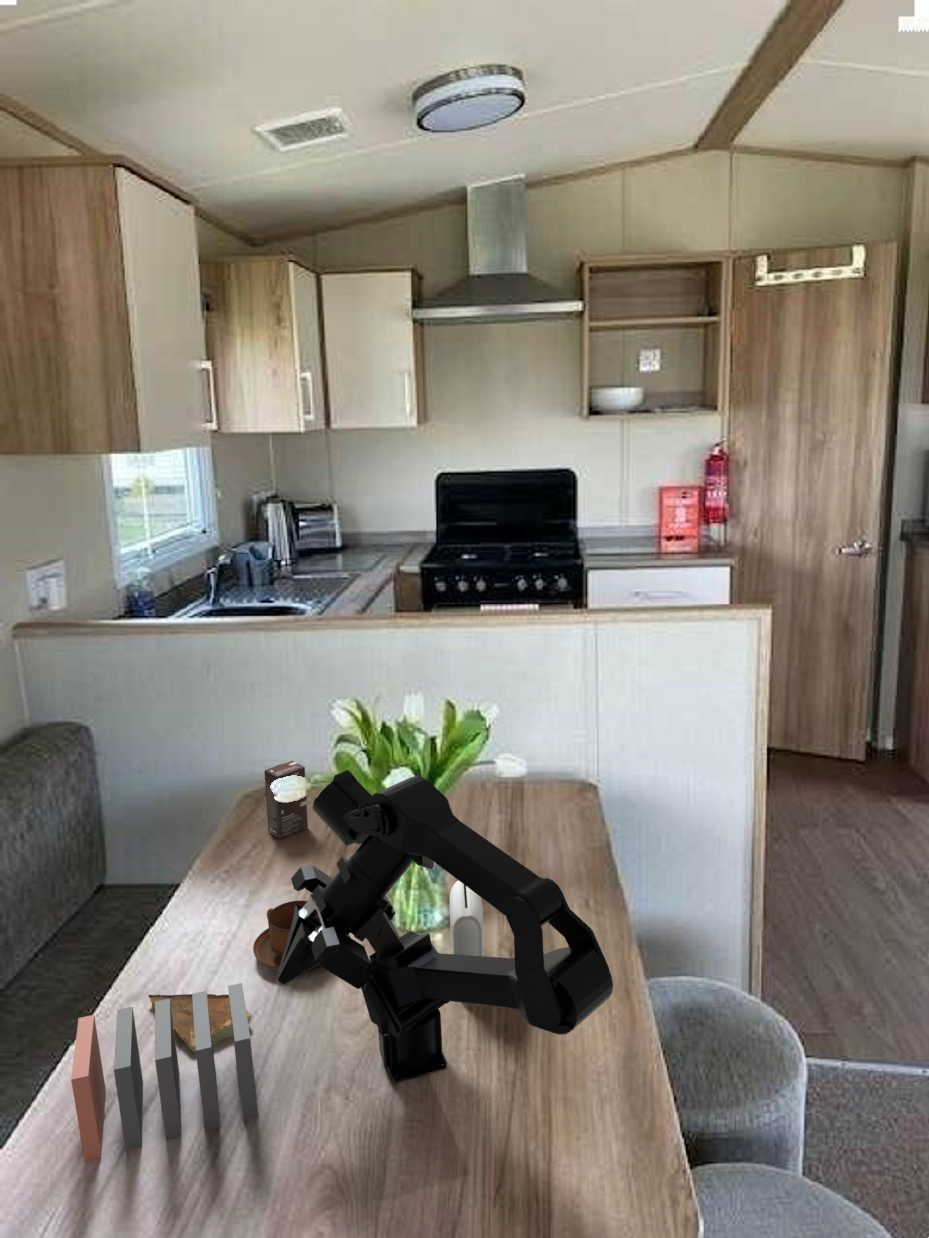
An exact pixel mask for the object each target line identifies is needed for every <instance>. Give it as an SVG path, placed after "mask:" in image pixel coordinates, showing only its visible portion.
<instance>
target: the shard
mask: <svg viewBox="0 0 929 1238" xmlns="http://www.w3.org/2000/svg"><path fill="white" fill-rule="evenodd" d="M192 994H193V993H190V994H189V993H187V994H186V993H185V994H172V995H170V994H162V995H161V994H148V998H149V1000H150V1002H151V1003H150V1004H151V1007H152V1008H153V1009H155V1002H156V1001H160V1000H165V999H170V1003H171V1011H172V1019H173V1027H174V1031H175V1032H176V1033H177V1034H178V1036H179V1038H181V1040H182V1041H183V1042H185V1043H186V1045H187V1046H188V1048H189V1049H190V1050H191V1051H192V1052H193V1053H194V1054H195V1055H196V1048H195V1032H194V1016H193V1000H192ZM207 999H208V1008H209V1017H210V1025H211V1034H212V1043H213V1046H214V1045H216V1044H217V1043H219V1042H222V1040H225V1039H228V1038H231V1037H233V1029H232V1019H231V1010H230V1001H229V994H218V995H217V994H212V993H211V994H210V993H207ZM246 1013H247V1019H248V1025H249V1024H250V1023H251V1020H252V1014H251V1013H250V1011H249V1010H248V1009H247V1008H246Z"/></svg>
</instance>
